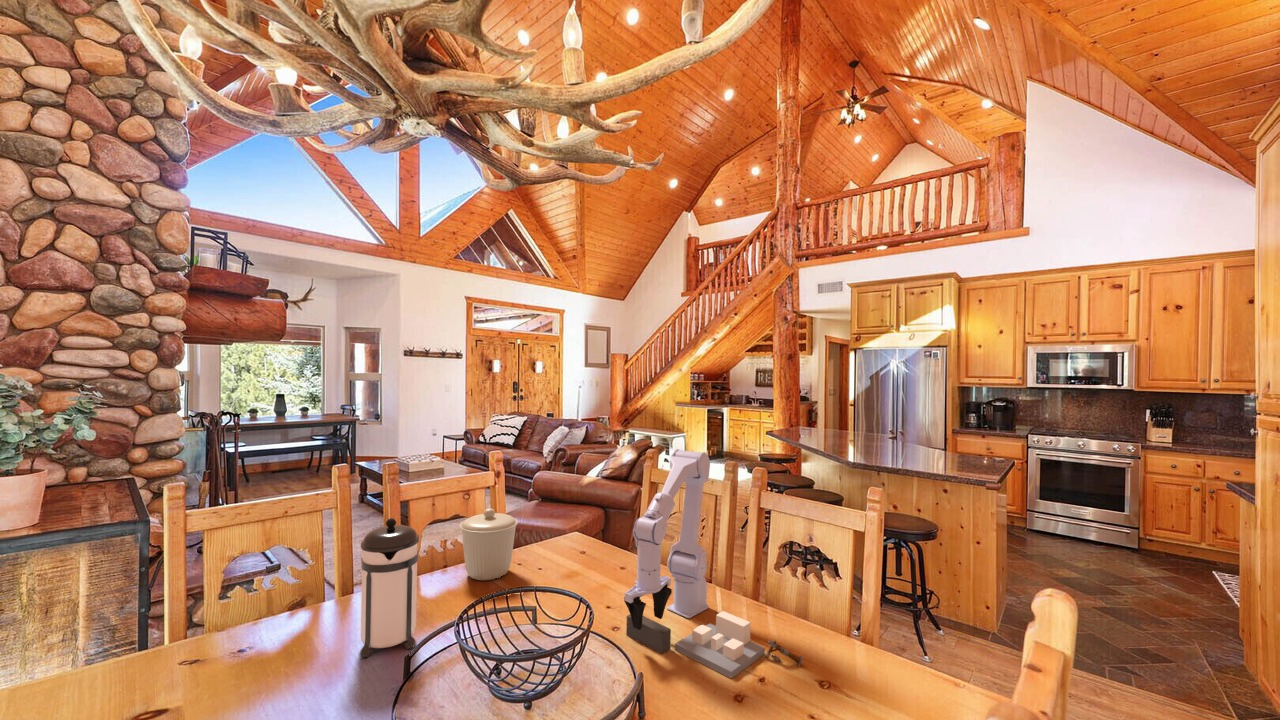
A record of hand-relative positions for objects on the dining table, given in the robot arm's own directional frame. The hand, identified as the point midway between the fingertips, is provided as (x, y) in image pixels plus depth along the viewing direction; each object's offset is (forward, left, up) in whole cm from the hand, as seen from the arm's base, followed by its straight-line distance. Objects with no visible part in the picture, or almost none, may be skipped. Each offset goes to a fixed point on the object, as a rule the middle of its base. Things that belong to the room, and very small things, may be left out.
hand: (647, 622), depth 127 cm
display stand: (-9, +15, -5) cm, 18 cm away
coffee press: (+45, -45, -5) cm, 64 cm away
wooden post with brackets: (-16, +28, -5) cm, 33 cm away
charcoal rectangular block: (0, 0, -5) cm, 5 cm away
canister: (+7, -64, -5) cm, 65 cm away
